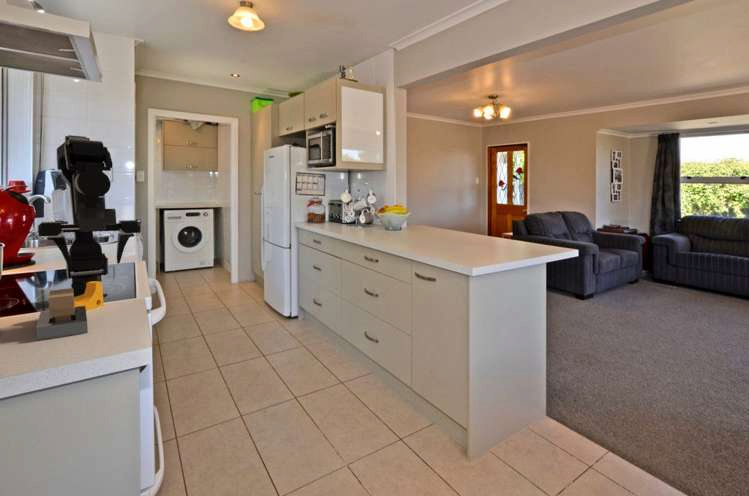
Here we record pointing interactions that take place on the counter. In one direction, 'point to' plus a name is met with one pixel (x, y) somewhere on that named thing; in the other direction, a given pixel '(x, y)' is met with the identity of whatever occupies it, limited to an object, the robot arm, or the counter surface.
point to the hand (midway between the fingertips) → (94, 265)
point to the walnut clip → (61, 304)
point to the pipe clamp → (91, 296)
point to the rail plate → (61, 324)
